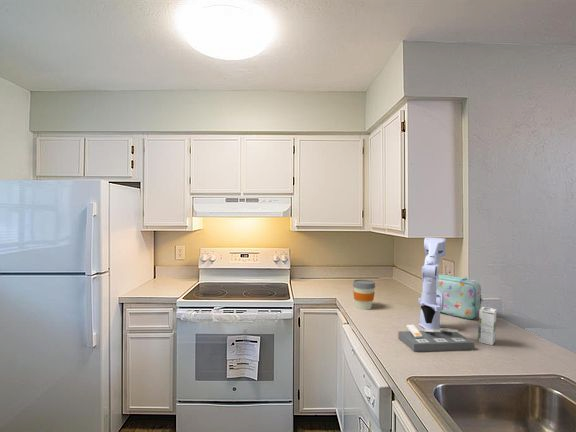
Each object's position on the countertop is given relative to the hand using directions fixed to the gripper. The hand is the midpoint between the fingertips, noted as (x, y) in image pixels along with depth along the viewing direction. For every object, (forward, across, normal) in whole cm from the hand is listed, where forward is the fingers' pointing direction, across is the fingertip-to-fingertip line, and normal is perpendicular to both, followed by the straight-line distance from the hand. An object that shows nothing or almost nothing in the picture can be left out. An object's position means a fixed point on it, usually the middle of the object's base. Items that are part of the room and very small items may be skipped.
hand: (428, 322), depth 147 cm
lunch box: (+8, -33, +34) cm, 48 cm away
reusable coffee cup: (+7, -48, -12) cm, 50 cm away
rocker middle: (+2, +3, 0) cm, 4 cm away
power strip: (+7, +5, 0) cm, 9 cm away
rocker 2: (+2, +3, +8) cm, 9 cm away
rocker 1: (+2, +3, -8) cm, 9 cm away
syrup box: (+7, +5, +24) cm, 26 cm away
